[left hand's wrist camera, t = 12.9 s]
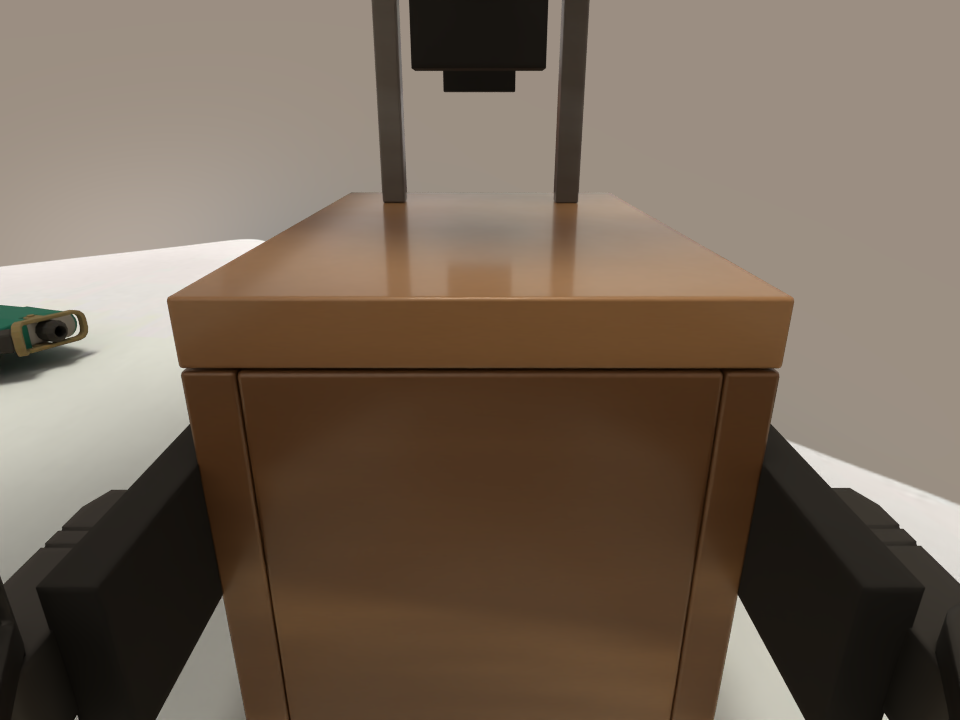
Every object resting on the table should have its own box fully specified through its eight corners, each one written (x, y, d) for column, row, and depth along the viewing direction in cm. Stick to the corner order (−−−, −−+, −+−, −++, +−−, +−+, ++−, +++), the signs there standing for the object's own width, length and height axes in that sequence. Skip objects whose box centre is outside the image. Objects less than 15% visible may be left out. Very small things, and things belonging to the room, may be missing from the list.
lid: (352, 224, 23) (332, -48, 19) (608, 225, 23) (628, -48, 19) (178, 369, 10) (33, -384, 6) (782, 369, 10) (928, -384, 6)
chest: (366, 478, 25) (347, 230, 22) (594, 478, 25) (613, 230, 22) (261, 808, 13) (178, 372, 10) (698, 808, 13) (782, 372, 10)
